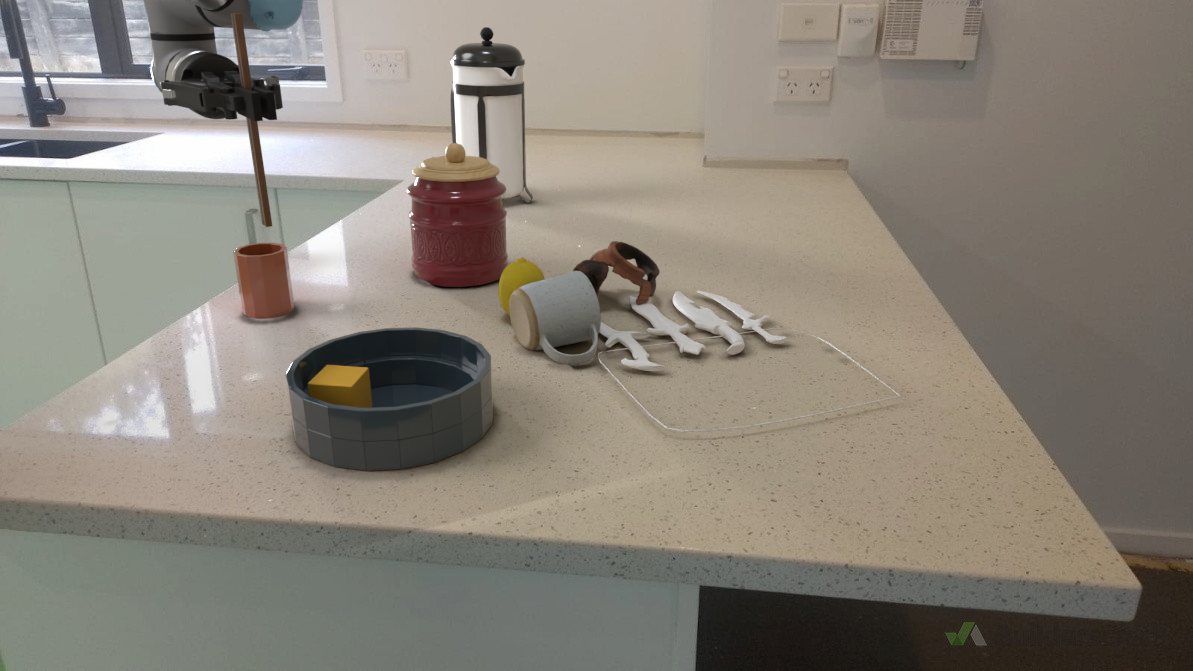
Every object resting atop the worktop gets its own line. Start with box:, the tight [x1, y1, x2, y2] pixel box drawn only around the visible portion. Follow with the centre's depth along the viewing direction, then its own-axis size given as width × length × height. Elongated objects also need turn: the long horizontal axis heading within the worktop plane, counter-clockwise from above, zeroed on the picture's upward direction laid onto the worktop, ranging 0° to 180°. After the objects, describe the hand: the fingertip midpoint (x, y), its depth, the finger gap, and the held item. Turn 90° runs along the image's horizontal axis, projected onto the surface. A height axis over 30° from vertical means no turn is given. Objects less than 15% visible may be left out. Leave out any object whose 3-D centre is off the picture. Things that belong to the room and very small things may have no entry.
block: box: [308, 365, 372, 408], centre depth 75 cm, size 4×4×4 cm
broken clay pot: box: [572, 240, 661, 305], centre depth 104 cm, size 12×10×8 cm
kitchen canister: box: [406, 142, 509, 288], centre depth 112 cm, size 13×13×18 cm
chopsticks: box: [231, 13, 273, 228], centre depth 89 cm, size 1×2×22 cm, turn 36°
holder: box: [232, 242, 295, 319], centre depth 98 cm, size 6×6×8 cm
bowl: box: [285, 326, 494, 472], centre depth 74 cm, size 17×17×6 cm
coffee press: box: [449, 26, 534, 204], centre depth 149 cm, size 17×16×30 cm
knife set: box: [597, 290, 901, 433], centre depth 91 cm, size 26×35×1 cm
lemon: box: [497, 257, 546, 317], centre depth 97 cm, size 6×6×8 cm
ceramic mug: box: [509, 270, 602, 366], centre depth 90 cm, size 11×8×8 cm
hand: (264, 106), depth 84 cm, fingers closed on chopsticks, 1 cm apart
